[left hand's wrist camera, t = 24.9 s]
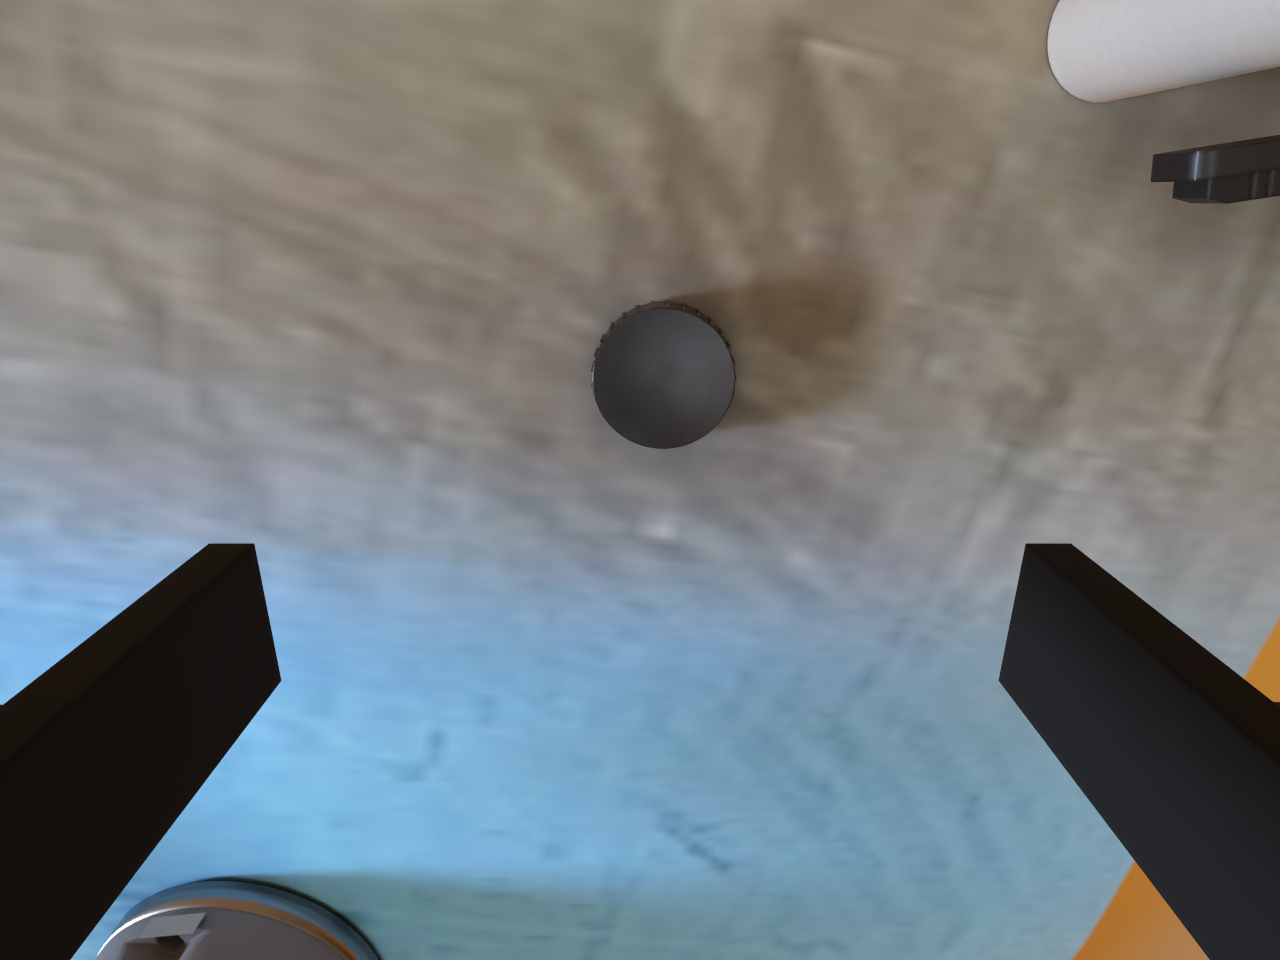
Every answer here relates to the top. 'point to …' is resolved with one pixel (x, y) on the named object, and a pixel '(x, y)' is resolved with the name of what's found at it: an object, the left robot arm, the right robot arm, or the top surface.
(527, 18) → the top surface
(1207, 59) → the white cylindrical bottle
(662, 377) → the lid
